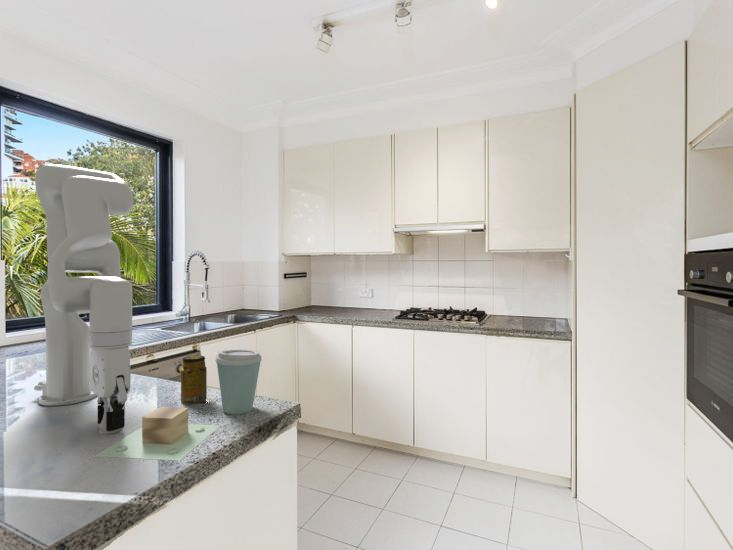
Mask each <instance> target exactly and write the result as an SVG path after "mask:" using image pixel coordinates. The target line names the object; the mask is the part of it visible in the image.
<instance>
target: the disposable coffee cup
mask: <svg viewBox="0 0 733 550" xmlns="http://www.w3.org/2000/svg"><path fill="white" fill-rule="evenodd" d="M262 361H263V359H262V355H261V354H260V352H258V351H257V350H252V349H226V350H225V349H224V350H219V351H218V352H217V355H216V356H215V363H216V367H217V374H218V383H219V391H220V397H221V406H222V407H221V408H222V411H223V413H225V414H227V415H242V414H245V413H248V412H251V411H252V410H253V407H254V402H255V396H256V391H257V384H258V379H259V373H260V366H261V362H262Z"/></svg>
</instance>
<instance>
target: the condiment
mask: <svg viewBox="0 0 733 550" xmlns="http://www.w3.org/2000/svg"><path fill="white" fill-rule="evenodd" d="M205 359H206V357H205V356H203V355H200V354H198V355H197V354H196V355H195V354H194V355H187V356H184V357H183V359H182V367H181V370H180V402H181V403H180V404H183V405H190V406H191V405H200V404H202V405H203V404H204V405H214V404H215V403H216V402H217V401H218V400H219V398H207V396H208V395H207V388H208V386H207V380H208V379H207V373H208V371H207V370H208V369H207V366H206V360H205ZM206 399H207V400H209V401H210V400H211V401H210V402H209V404H208V402H207V401H206ZM214 400H215V401H214ZM216 400H217V401H216ZM206 402H207V404H205V403H206ZM213 403H214V404H213Z"/></svg>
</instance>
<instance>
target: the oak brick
mask: <svg viewBox="0 0 733 550" xmlns="http://www.w3.org/2000/svg"><path fill="white" fill-rule="evenodd" d="M141 419H142V420H141V424H142V426H141V427H142V443H152V444H173V443H175V442H176V441H177V440H178V439H180V438H181V437H182V436H184V435H185V434H186V433H188V424H189V407H179V406H178V407H175V406H172V407H171V406H160V407H158V408H155V409H154V410H153V411H151V412H149V413H147V414H146V415H144V416H142V418H141Z"/></svg>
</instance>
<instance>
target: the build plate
mask: <svg viewBox="0 0 733 550" xmlns="http://www.w3.org/2000/svg"><path fill="white" fill-rule="evenodd" d="M220 427H221V425H218V424H215V425H214V424H198V423H197V424H196V423H195V424H193V423H188V433H186V434H185V435H184V436H182V437H181V438H180V439H178V440H177V441H176V442H175V443H173V444H152V443H142V426H141V427H140V428H138V429H136V430H135V431H133V432H132V433H130V434H128V435H127V436H125V437H123V438H122V439H120V440H119V441H117V442H115V443H113V444H112V445H110V446H109V447H107V448H105V449H103V450H102V451H100V452H98V453H97V454H96V455H94V457H103V458H122V459H124V458H125V459H141V460H154V461H155V460H158V461H159V460H160V461H177V462H179V461H181V460H183V459H184V458H185V457H186V456H187V455H188V454H190V453H191V452H192V451H193V450H194V449H195V448H196V447H198V446H199V445H200V444H201V443H202V442H204V440H205V439H207V438H208V437H210V435H212V434H213V433H214V432H215V431H216V430H217V429H218V428H220Z"/></svg>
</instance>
